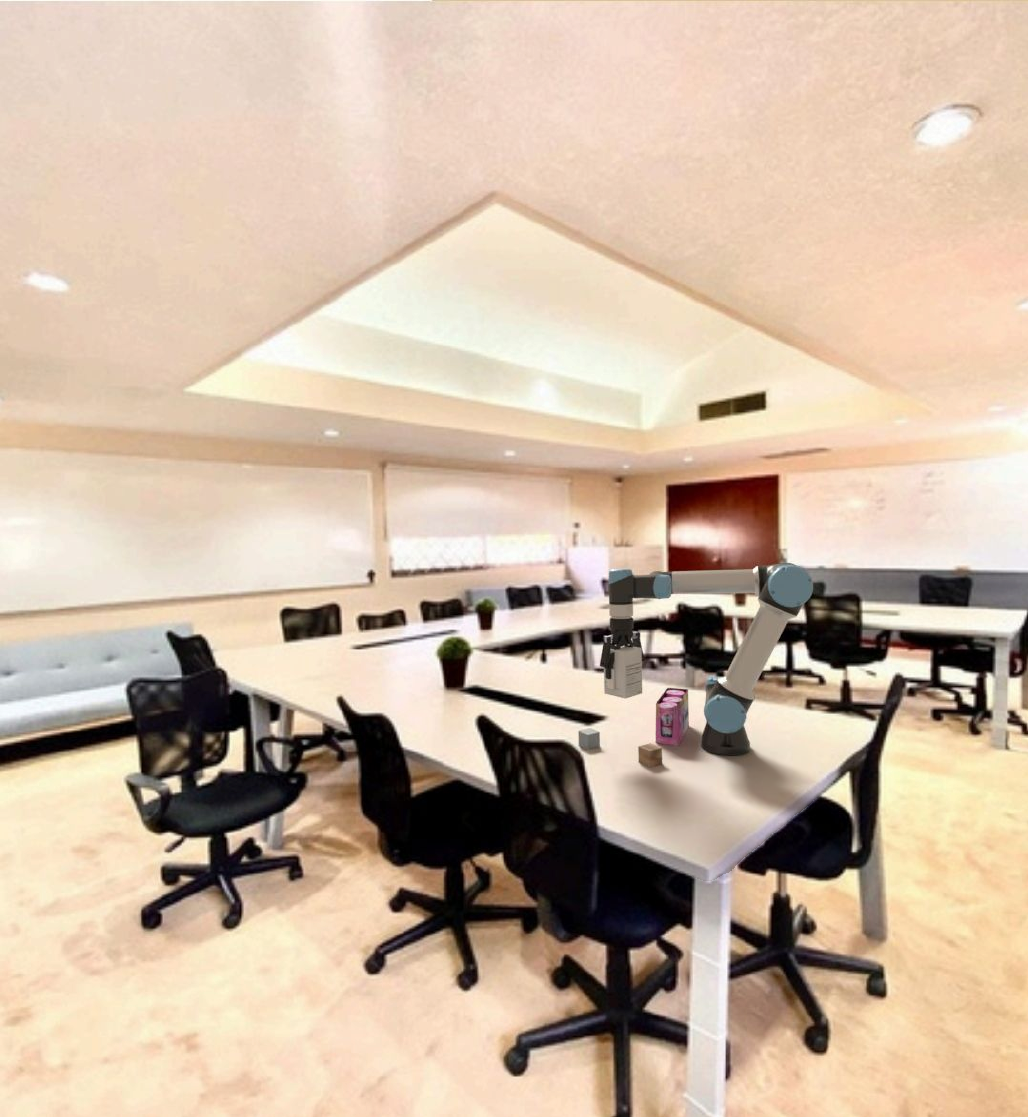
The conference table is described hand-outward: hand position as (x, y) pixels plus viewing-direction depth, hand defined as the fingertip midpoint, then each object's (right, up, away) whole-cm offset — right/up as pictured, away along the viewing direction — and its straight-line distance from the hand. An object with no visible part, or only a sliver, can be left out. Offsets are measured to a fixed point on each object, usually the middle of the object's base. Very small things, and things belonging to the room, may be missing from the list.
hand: (623, 686), depth 193 cm
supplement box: (0, -3, 0) cm, 3 cm away
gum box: (+21, -21, +18) cm, 34 cm away
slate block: (-10, -22, +8) cm, 25 cm away
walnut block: (+7, -22, -8) cm, 24 cm away
